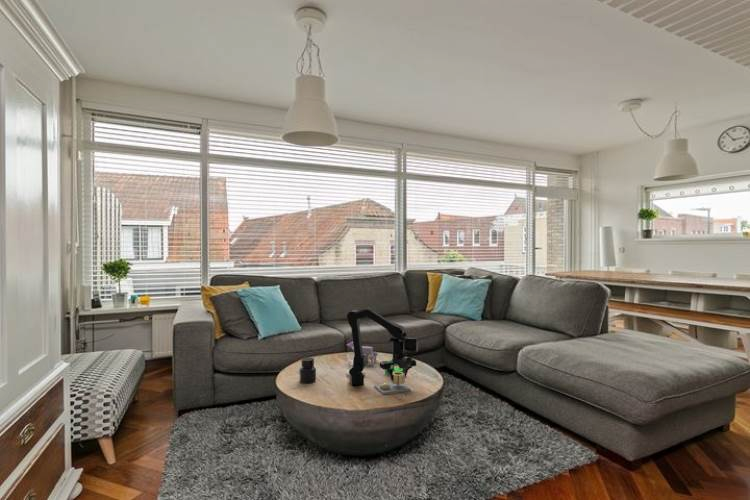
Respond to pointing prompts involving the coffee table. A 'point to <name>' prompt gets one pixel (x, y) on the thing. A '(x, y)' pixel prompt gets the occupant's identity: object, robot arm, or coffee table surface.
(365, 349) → the toy sheep
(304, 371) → the ink bottle
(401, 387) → the carrier board
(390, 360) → the mechanical part
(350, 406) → the coffee table surface
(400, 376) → the gear
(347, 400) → the coffee table surface
